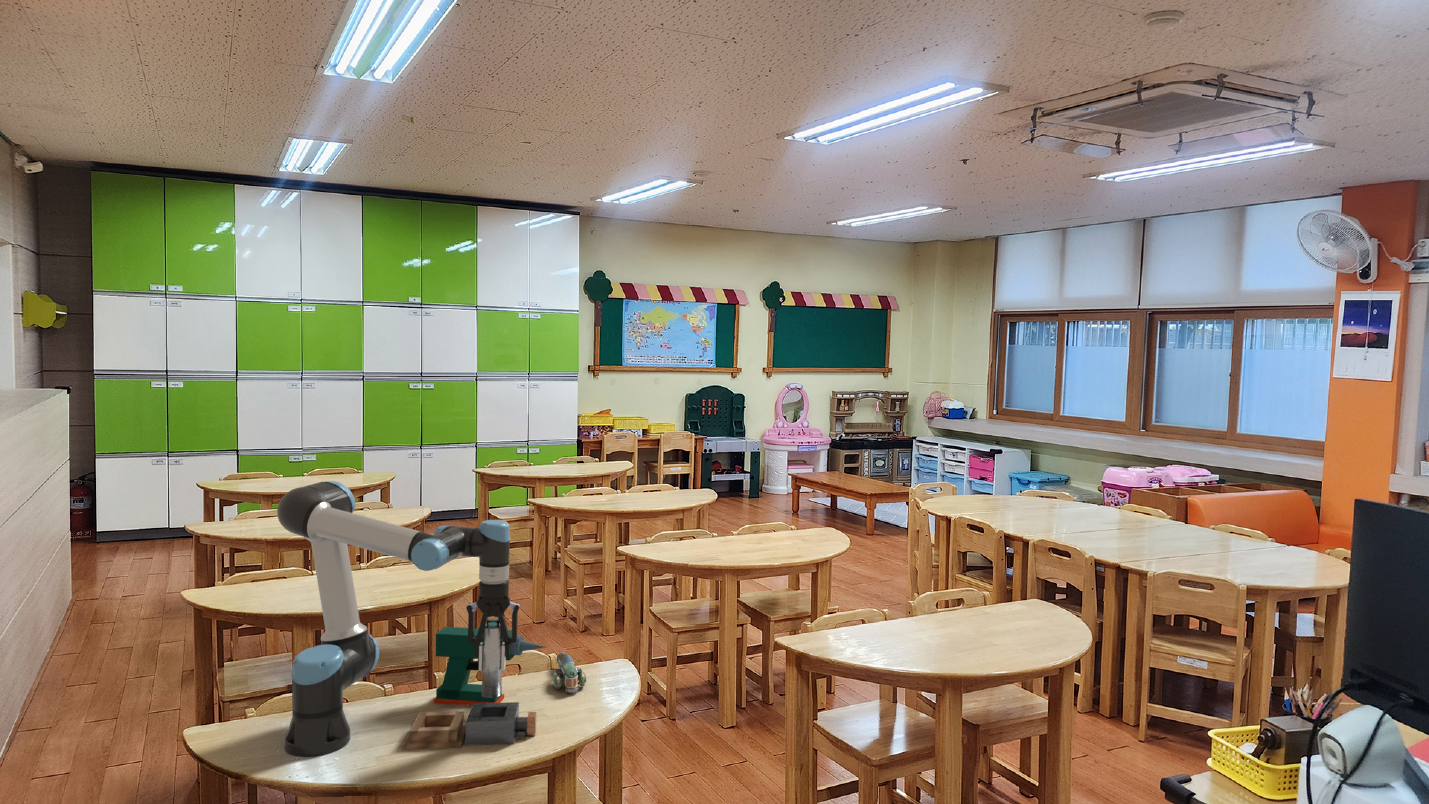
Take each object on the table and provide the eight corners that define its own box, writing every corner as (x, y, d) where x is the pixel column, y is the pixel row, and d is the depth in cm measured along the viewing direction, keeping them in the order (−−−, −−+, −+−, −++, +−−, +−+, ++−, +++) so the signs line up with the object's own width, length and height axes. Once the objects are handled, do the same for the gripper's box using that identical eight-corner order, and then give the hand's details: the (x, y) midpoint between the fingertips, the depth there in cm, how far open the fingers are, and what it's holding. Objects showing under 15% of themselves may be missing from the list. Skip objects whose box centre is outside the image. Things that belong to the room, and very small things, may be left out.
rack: (403, 749, 218) (403, 733, 218) (415, 725, 232) (415, 710, 232) (460, 747, 220) (460, 731, 219) (469, 723, 233) (469, 709, 233)
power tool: (550, 700, 251) (551, 631, 250) (543, 709, 244) (544, 639, 243) (443, 693, 254) (444, 626, 253) (433, 703, 247) (433, 633, 246)
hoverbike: (556, 697, 253) (556, 669, 253) (546, 667, 277) (546, 641, 276) (588, 694, 256) (589, 666, 256) (576, 664, 280) (576, 639, 279)
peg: (480, 698, 224) (481, 623, 223) (483, 690, 229) (484, 617, 228) (500, 697, 225) (501, 623, 224) (502, 690, 230) (504, 617, 229)
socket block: (465, 745, 221) (465, 722, 220) (472, 725, 233) (473, 703, 232) (523, 743, 222) (523, 720, 222) (527, 723, 234) (527, 701, 234)
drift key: (504, 736, 226) (505, 718, 226) (506, 730, 230) (506, 712, 229) (535, 735, 227) (535, 717, 227) (536, 729, 230) (536, 711, 230)
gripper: (455, 584, 220) (454, 674, 222) (528, 584, 223) (526, 673, 224) (460, 576, 228) (459, 663, 229) (530, 576, 230) (528, 663, 231)
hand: (492, 668), depth 226 cm, fingers closed on peg, 5 cm apart
